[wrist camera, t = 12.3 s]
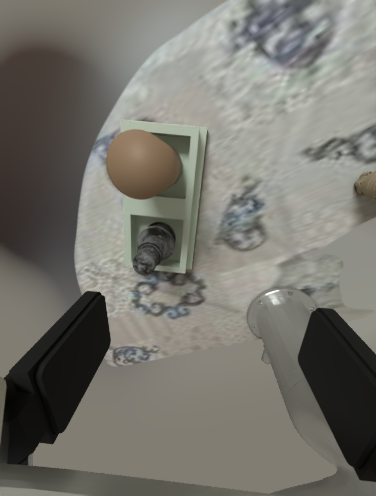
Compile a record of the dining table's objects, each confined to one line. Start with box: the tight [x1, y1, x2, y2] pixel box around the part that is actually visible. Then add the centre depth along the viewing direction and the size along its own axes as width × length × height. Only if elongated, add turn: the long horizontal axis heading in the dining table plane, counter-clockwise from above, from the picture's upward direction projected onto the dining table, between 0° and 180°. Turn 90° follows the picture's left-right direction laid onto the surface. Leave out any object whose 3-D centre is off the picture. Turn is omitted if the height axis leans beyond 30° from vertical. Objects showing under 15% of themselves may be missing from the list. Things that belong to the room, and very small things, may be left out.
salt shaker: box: [133, 222, 176, 275], centre depth 28 cm, size 6×6×12 cm
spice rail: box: [106, 119, 207, 274], centre depth 27 cm, size 22×12×13 cm, turn 175°
